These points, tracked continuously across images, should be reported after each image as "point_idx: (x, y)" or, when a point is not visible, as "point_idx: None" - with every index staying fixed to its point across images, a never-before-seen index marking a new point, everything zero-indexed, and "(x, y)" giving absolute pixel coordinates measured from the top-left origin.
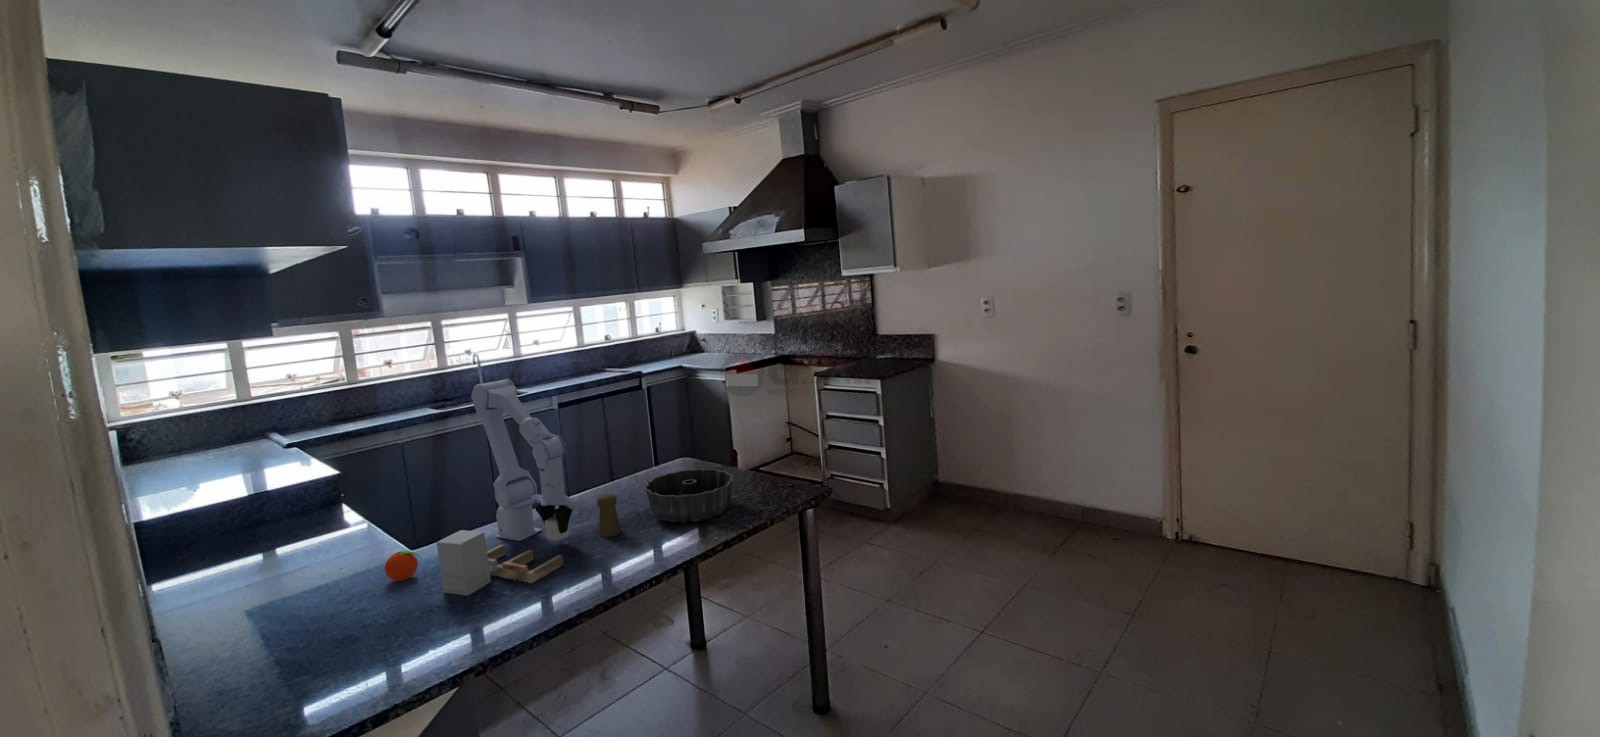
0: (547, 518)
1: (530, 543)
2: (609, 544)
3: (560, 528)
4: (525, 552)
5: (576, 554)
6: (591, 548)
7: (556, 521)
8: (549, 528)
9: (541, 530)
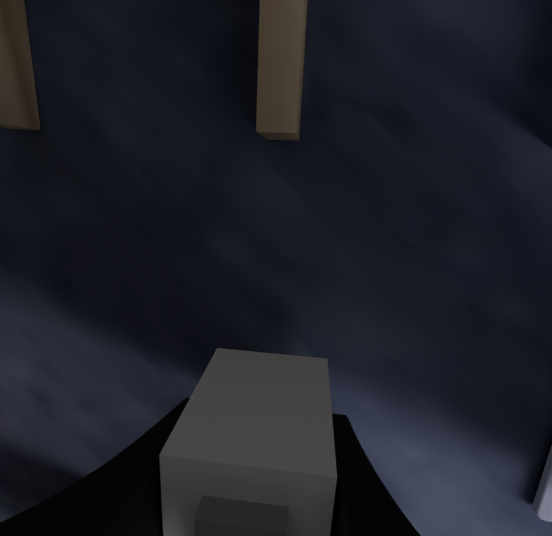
0: (338, 525)
1: (480, 345)
2: (4, 420)
3: (164, 420)
4: (283, 71)
5: (64, 278)
6: (51, 362)
7: (181, 479)
8: (280, 410)
9: (533, 506)
